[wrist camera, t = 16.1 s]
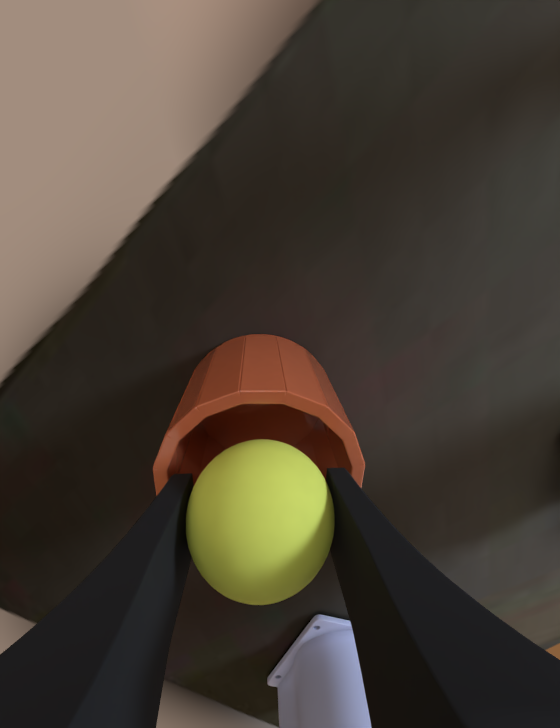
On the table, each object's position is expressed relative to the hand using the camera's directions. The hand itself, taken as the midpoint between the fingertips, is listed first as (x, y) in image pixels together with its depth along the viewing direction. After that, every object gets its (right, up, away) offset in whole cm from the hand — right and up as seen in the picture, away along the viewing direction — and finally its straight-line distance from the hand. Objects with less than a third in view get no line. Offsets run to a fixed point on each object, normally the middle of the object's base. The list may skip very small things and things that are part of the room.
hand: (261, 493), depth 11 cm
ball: (0, 0, -1) cm, 1 cm away
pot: (0, +2, +6) cm, 6 cm away
